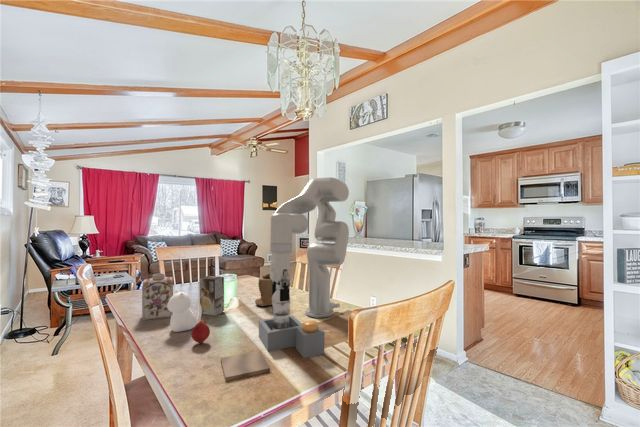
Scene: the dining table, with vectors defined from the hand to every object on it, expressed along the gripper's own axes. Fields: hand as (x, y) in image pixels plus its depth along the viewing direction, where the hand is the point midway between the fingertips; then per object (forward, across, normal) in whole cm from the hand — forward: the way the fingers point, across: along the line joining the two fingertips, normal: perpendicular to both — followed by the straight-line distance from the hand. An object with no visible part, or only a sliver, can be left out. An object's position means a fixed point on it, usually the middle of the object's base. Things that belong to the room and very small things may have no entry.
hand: (280, 297), depth 104 cm
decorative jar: (+15, -50, -41) cm, 66 cm away
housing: (+15, +4, +2) cm, 16 cm away
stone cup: (+14, -45, +9) cm, 48 cm away
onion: (+16, -10, -25) cm, 31 cm away
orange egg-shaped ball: (+12, +11, +7) cm, 18 cm away
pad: (+16, +12, -14) cm, 24 cm away
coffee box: (+15, -43, -19) cm, 49 cm away
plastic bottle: (+15, -1, +1) cm, 15 cm away
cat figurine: (+16, -27, -30) cm, 43 cm away
